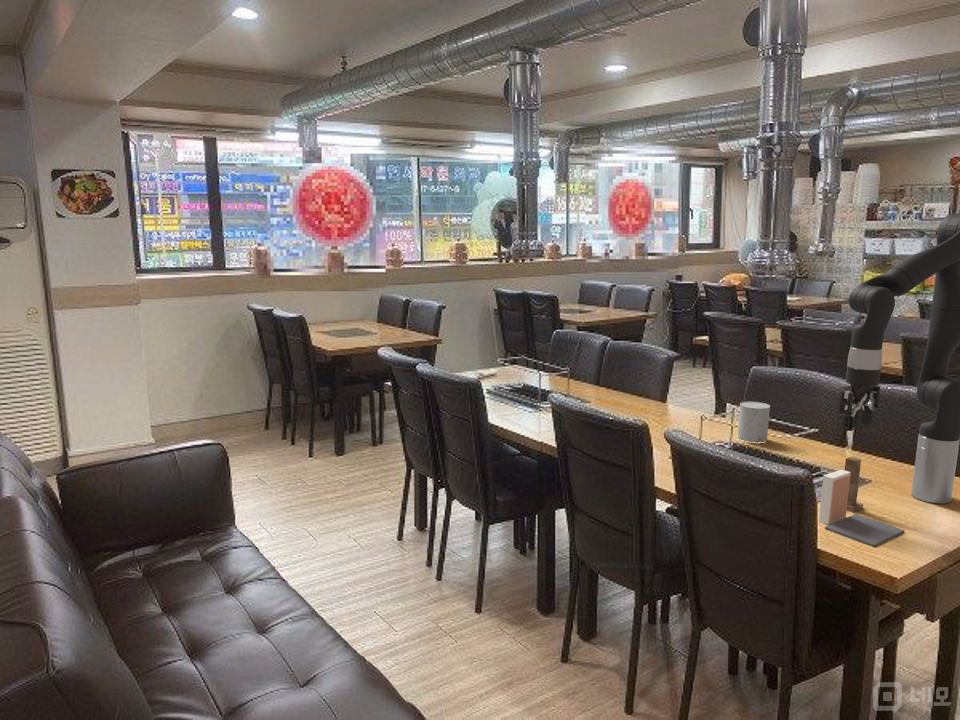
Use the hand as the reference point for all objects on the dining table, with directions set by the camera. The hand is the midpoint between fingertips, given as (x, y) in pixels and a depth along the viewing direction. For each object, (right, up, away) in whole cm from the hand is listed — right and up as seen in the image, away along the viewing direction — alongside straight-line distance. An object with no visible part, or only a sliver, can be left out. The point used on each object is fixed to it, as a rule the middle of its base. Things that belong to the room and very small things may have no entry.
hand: (857, 427), depth 183 cm
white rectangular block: (-8, -23, -4) cm, 24 cm away
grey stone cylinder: (-3, -10, +61) cm, 62 cm away
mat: (-4, -24, -10) cm, 26 cm away
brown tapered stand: (0, -21, +4) cm, 22 cm away
